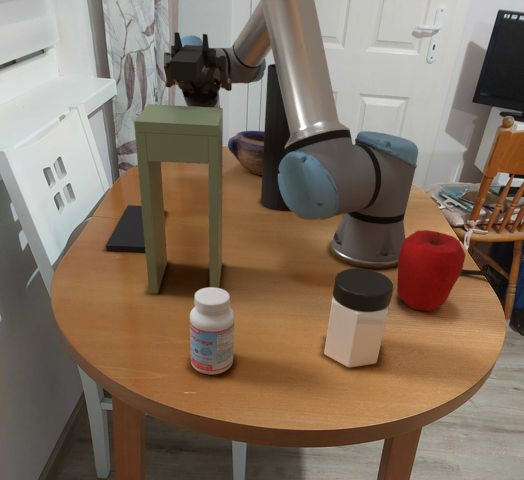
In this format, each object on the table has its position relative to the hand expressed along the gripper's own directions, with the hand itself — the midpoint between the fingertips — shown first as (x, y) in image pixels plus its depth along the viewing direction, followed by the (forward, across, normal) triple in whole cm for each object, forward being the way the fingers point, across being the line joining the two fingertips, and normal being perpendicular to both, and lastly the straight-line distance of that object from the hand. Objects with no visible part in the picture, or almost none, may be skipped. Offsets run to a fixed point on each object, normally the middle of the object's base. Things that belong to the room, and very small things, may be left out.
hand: (190, 41), depth 87 cm
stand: (-4, 0, -39) cm, 40 cm away
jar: (+15, -27, -50) cm, 59 cm away
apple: (+2, -41, -43) cm, 60 cm away
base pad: (-22, +13, -29) cm, 39 cm away
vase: (-39, -19, -19) cm, 48 cm away
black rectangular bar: (0, 0, -4) cm, 4 cm away
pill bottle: (+18, -6, -52) cm, 56 cm away
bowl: (-61, -15, -6) cm, 63 cm away
